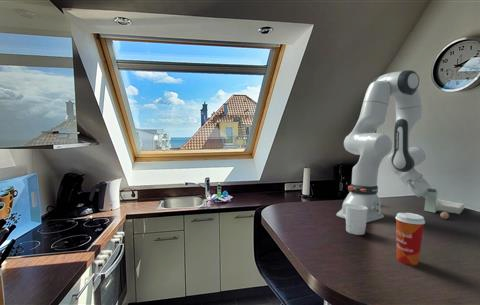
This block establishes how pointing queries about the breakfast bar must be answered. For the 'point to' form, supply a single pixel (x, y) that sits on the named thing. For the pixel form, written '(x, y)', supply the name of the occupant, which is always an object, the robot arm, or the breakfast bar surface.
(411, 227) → the paper cup
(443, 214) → the ball
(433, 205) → the shaker
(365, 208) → the white cup
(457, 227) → the breakfast bar surface
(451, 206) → the dish
